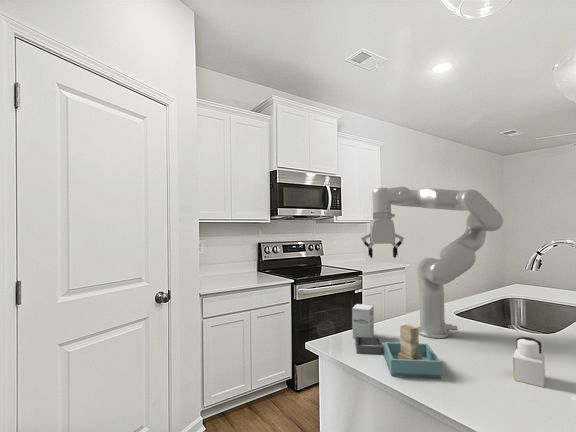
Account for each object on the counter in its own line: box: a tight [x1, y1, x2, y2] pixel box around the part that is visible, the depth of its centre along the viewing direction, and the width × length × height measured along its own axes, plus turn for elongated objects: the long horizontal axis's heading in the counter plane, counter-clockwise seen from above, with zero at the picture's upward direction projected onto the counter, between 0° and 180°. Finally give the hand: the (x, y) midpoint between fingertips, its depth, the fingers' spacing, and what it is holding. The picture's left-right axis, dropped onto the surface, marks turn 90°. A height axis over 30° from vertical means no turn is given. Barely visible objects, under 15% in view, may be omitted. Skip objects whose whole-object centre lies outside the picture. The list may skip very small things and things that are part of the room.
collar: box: [354, 336, 384, 355], centre depth 123 cm, size 10×10×2 cm
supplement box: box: [351, 303, 375, 339], centre depth 135 cm, size 7×7×13 cm
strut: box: [398, 323, 422, 360], centre depth 108 cm, size 5×5×12 cm
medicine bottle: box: [512, 336, 546, 388], centre depth 98 cm, size 7×7×12 cm
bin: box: [383, 341, 442, 379], centre depth 108 cm, size 15×15×5 cm
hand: (382, 257), depth 139 cm, fingers open, 9 cm apart
